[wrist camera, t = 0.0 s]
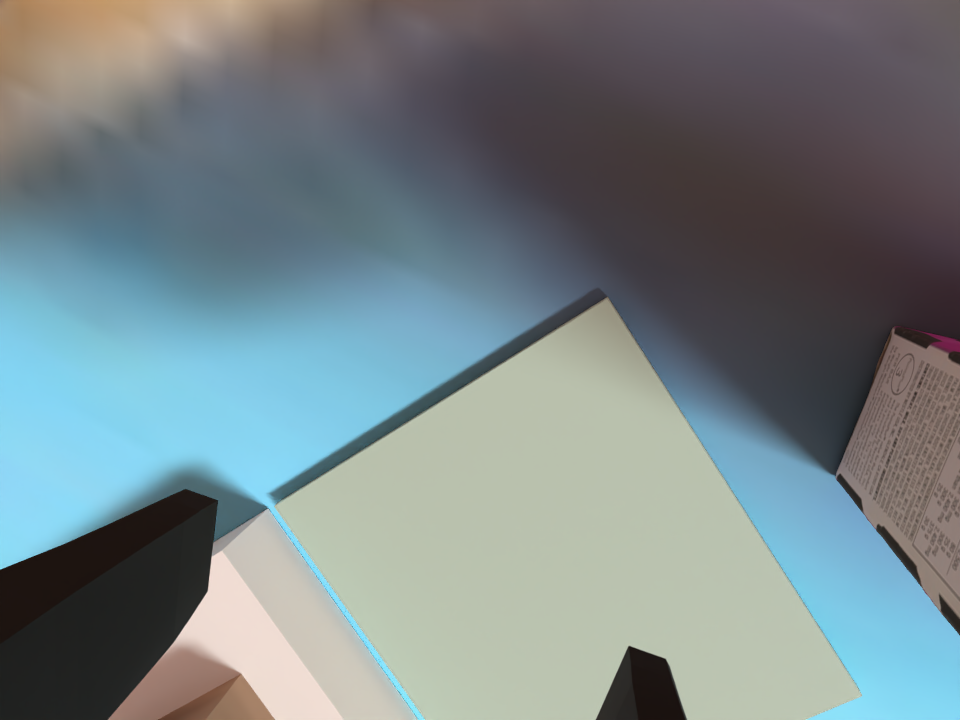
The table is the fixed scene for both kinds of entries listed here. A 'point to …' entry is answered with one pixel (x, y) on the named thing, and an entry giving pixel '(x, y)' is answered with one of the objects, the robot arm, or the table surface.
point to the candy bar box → (913, 460)
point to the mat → (562, 548)
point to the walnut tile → (224, 704)
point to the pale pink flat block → (268, 640)
